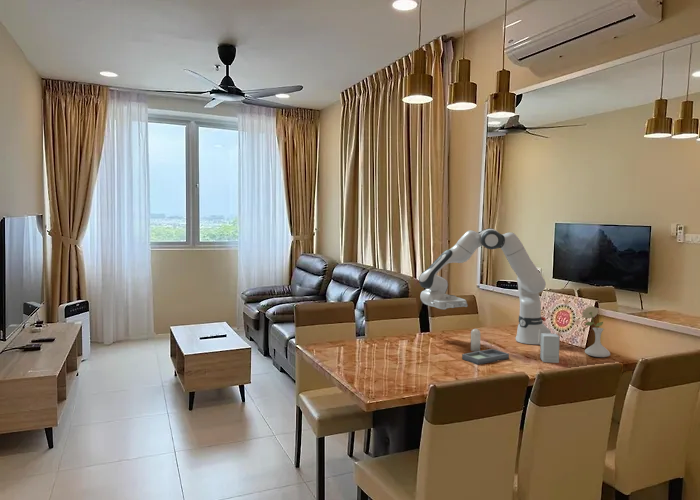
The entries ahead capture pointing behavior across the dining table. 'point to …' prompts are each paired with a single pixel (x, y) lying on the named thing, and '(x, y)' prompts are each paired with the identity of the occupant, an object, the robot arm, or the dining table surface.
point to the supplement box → (549, 347)
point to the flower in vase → (597, 347)
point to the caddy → (485, 356)
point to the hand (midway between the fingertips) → (460, 305)
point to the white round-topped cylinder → (475, 340)
